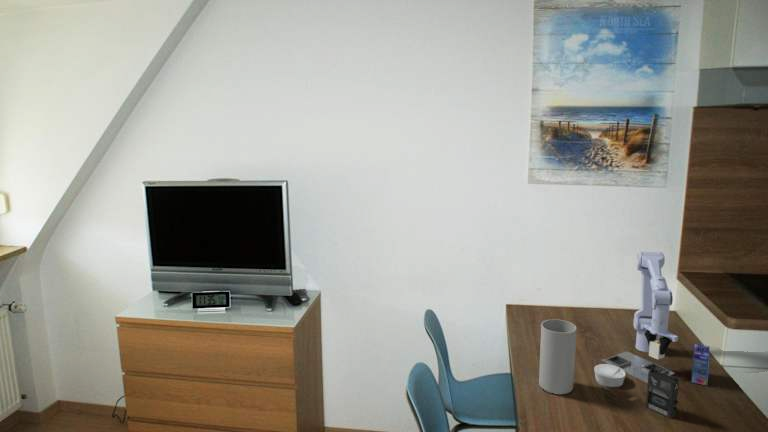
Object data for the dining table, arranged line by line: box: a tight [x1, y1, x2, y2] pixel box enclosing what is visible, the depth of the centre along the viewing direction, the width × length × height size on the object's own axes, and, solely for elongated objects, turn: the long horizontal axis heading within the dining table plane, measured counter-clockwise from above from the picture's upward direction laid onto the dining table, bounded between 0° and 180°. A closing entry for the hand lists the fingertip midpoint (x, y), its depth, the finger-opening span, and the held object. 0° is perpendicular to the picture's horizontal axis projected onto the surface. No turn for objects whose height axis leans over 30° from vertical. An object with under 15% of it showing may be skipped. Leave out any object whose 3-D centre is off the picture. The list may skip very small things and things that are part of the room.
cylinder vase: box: [538, 318, 577, 395], centre depth 195 cm, size 12×12×25 cm
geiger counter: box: [645, 367, 680, 419], centre depth 179 cm, size 10×4×15 cm, turn 35°
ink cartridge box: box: [691, 341, 711, 386], centre depth 200 cm, size 10×6×14 cm, turn 148°
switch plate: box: [601, 351, 676, 384], centre depth 210 cm, size 16×22×2 cm
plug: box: [648, 339, 666, 360], centre depth 204 cm, size 4×4×7 cm
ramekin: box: [593, 363, 627, 389], centre depth 199 cm, size 11×11×5 cm
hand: (657, 351), depth 204 cm, fingers closed on plug, 4 cm apart
